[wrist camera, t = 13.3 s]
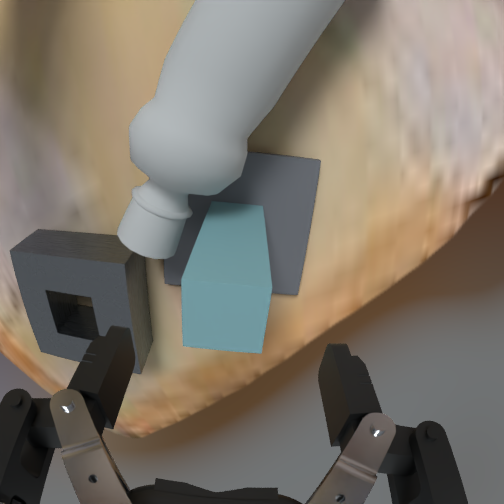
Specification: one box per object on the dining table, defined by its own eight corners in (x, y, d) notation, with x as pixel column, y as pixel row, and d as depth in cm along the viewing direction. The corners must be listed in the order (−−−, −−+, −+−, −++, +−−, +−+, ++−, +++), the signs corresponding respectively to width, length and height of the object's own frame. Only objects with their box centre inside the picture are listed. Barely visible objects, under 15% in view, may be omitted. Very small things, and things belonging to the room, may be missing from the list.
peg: (211, 201, 24) (181, 278, 14) (262, 205, 25) (272, 287, 14) (209, 247, 26) (183, 346, 15) (257, 251, 26) (261, 353, 16)
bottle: (262, -114, 10) (82, 198, 22) (343, -146, 4) (93, 275, 16) (337, -55, 16) (181, 217, 28) (423, -58, 10) (225, 285, 22)
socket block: (38, 229, 26) (9, 250, 22) (143, 237, 27) (124, 264, 22) (59, 324, 31) (41, 351, 27) (152, 341, 32) (141, 374, 27)
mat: (166, 146, 23) (164, 147, 23) (318, 159, 24) (320, 161, 23) (166, 279, 28) (164, 283, 28) (296, 290, 29) (297, 294, 28)
